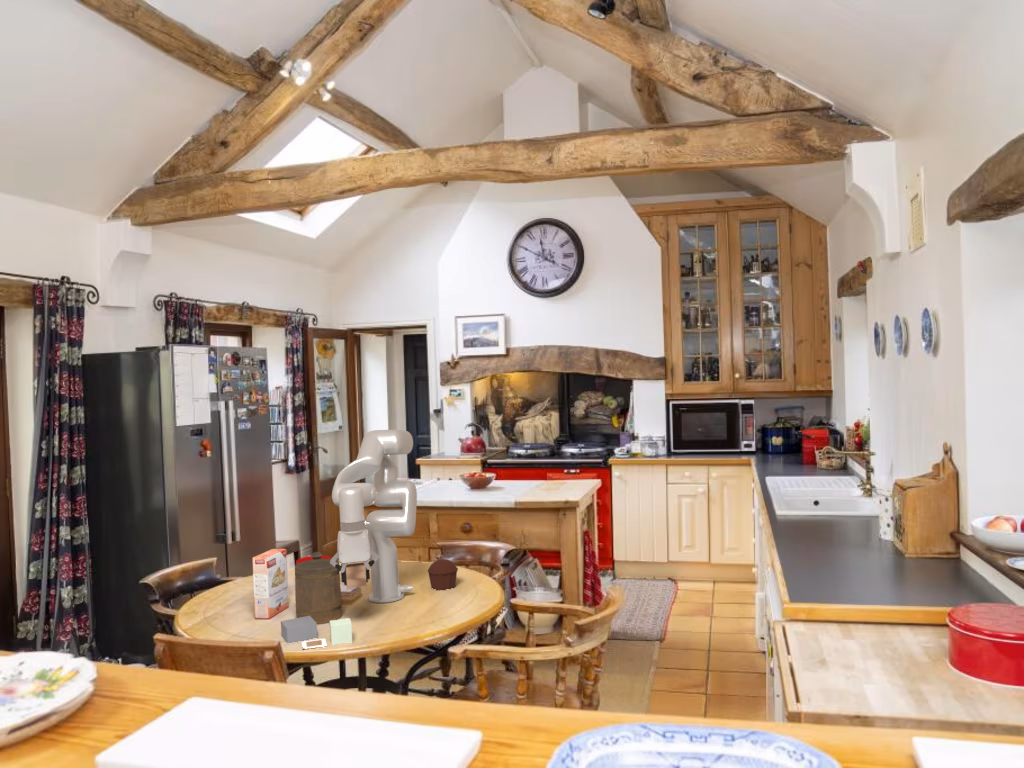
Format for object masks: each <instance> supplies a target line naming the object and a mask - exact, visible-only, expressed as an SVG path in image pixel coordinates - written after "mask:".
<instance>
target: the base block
mask: <svg viewBox="0 0 1024 768" xmlns="http://www.w3.org/2000/svg"><path fill="white" fill-rule="evenodd" d="M280 628H281V629H280V630H281V637H282V639H283V640H284V642H285V643H286V642H287V643H292V642H297V643H299V642H298V641H302V642H303V641H304V640H307V641H310V640H309V639H312V640H314V639H313V638H317V639H318V624H317V623H316V622H315V621H314V620H313V619H312V618H311V616H306V617H300V618H291V619H290V618H289V619H283V620H281V621H280ZM287 643H286V644H287ZM292 644H293V643H292Z"/></svg>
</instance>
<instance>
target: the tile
mask: <svg viewBox="0 0 1024 768" xmlns="http://www.w3.org/2000/svg"><path fill="white" fill-rule="evenodd" d="M326 640H327V639H326V638H324V637H323V638H317V639H312V640H307V641H302V642H301V647H303V648H305V649H307V648H315V647H323V648H325V647H324V646H327V647H328V645H327V641H326Z"/></svg>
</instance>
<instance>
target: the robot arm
mask: <svg viewBox="0 0 1024 768" xmlns="http://www.w3.org/2000/svg"><path fill="white" fill-rule="evenodd" d="M360 444H361V445H360V448H359V450H358V454H357V457H356V459H355V460H353V461H352V462H350V463H349V464H348V465H346V466H345V467H344V468H343V469H342V470H340V472H338V475H337V477H336V478H335V481H334V484H333V486H332V491H331V500H332V502H333V504H334V505H335V506H336V507H339V520H340V521H339V522H340V525H339V526H340V530H339V531H338V533H337V546H336V547H337V549H336V550H337V551H336V553H335V554H334V555H333V556H332V559H331V560H330V564H332V565H333V566H334V567H336V568H337V569H338V570H339V573H340V574H341V575H340V579H341V583H343V584H344V586H346V585H347V581H346V572H345V568H346V565H347V564H354V563H362V562H364V565H365V567H366V583H369V580H370V579H371V587H372V588H371V589H372V593H370V594H369V595H368V598H367V600H368V601H370V602H372V603H377V604H384V603H386V604H387V603H392V602H396V601H399V600H402V599H403V598H404V596H405V594H404V592H411V591H413V585H412V584H411V585H409V584H404V585H403V584H400V579H399V562H398V561H399V560H398V547H397V545H396V543H395V542H394V540H393V539H392V537H395V538H396V537H398V538H399V537H410V536H412V535H413V534H414V533H415V529H416V523H417V518H416V517H417V502H418V492H417V487H416V484H415V483H414V481H412V480H408V479H407V480H406V479H405V480H404V479H403V480H402V479H399V480H398V473H399V472H398V469H399V468H398V466H397V465H396V463H395V461H393V460H392V459H393V458H391V457H390V456H393V455H409V454H410V453H411V452H412V450H413V447H414V439H413V435H412V434H411V433H410V432H409V431H407V430H403V429H376V430H375V429H374V430H370V431H368V432H366V433H365V435H364V436H363V438H362V441H361V443H360ZM370 476H373V484H372V483H370V482H357V481H360V480H363V479H365V478H367V477H370ZM373 504H374V505H375V506H376V507H378V508H400V507H401V508H402V509H378V510H377V509H376V510H373V511H371V512H369V514H368V515H367V516H366V520H365V508H364V507H369V506H372V505H373ZM336 560H338V561H339V564H338V563H336V562H335V561H336ZM340 564H341V565H340ZM370 569H371V576H370ZM370 577H371V578H370Z"/></svg>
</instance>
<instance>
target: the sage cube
mask: <svg viewBox="0 0 1024 768" xmlns="http://www.w3.org/2000/svg"><path fill="white" fill-rule="evenodd" d="M352 625H353V624H352V621H351V618H349V617H347V618H339V619H337V620H332V621H330V622H329V633H330V644H331V643H332V644H331V646H332V645H335V644H342V643H352V644H353V628H352V627H353V626H352Z"/></svg>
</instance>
